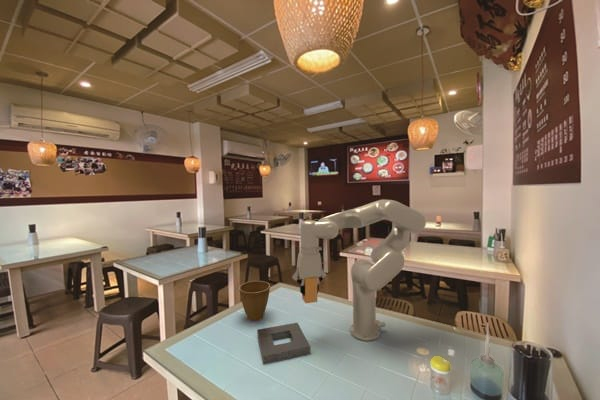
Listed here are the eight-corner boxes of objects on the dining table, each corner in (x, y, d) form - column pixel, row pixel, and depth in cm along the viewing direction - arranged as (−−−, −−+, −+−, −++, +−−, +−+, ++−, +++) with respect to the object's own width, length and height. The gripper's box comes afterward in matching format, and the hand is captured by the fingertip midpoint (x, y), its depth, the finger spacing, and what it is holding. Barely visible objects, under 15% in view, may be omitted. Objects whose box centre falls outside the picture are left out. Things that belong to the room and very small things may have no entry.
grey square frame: (297, 328, 112) (297, 322, 112) (310, 353, 95) (310, 346, 95) (257, 336, 107) (257, 329, 107) (263, 364, 90) (263, 356, 89)
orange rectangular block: (313, 296, 107) (313, 273, 106) (317, 301, 102) (317, 277, 102) (302, 298, 105) (302, 275, 105) (305, 303, 100) (305, 279, 100)
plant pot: (234, 324, 117) (233, 291, 116) (248, 309, 131) (247, 279, 131) (264, 327, 114) (263, 293, 113) (274, 312, 128) (274, 281, 127)
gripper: (325, 247, 109) (325, 287, 109) (287, 249, 104) (287, 292, 105) (332, 251, 102) (331, 294, 102) (291, 254, 97) (292, 299, 98)
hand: (309, 293), depth 103 cm, fingers closed on orange rectangular block, 5 cm apart
